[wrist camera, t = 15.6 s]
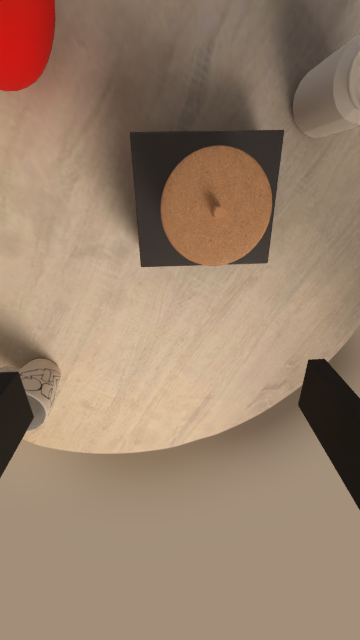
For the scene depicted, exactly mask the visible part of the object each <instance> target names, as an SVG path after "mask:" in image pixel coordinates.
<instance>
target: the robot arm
mask: <svg viewBox="0 0 360 640" xmlns="http://www.w3.org/2000/svg"><path fill="white" fill-rule="evenodd" d="M298 405H299V407H300V409H301V411H302V412H303V414H304V416H305V418H306V419H307V421H308V423H309V424H310V426H311V428H312V429H313V431H314V433H315V435H316V436H317V438H318V440H319V441H320V443H321V445H322V447H323V448H324V450H325V452H326V453H327V455H328V457H329V458H330V460H331V462H332V464H333V465H334V467H335V469H336V470H337V472H338V474H339V475H340V477H341V479H342V481H343V482H344V484H345V486H346V487H347V489H348V491H349V493H350V494H351V496H352V498H353V499H354V501H355V503H356V504H357V506H358V508H359V509H360V398H359V397H358V396H357V395H356V394H355V393H354V391H353V390H352V389H351V388H350V387H349V386H348V385H347V384H346V382H345V381H344V380H343V379H342V378H341V377H340V376H339V375H338V373H337V372H336V371H335V370H334V369H333V368H332V367H331V366H330V364H329V363H328V362H327V361H326V360H325V359H314V360H308V364H307V368H306V373H305V377H304V381H303V386H302V390H301V394H300V399H299V404H298ZM33 418H34V415H33V412H32V409H31V406H30V404H29V401H28V398H27V395H26V392H25V389H24V386H23V383H22V380H21V377H20V374H19V372H1V373H0V477H1V475H2V474H3V472H4V470H5V468H6V467H7V465H8V463H9V461H10V460H11V458H12V456H13V454H14V452H15V451H16V449H17V447H18V445H19V443H20V442H21V440H22V438H23V436H24V434H25V433H26V431H27V429H28V427H29V426H30V424H31V422H32V420H33Z"/></svg>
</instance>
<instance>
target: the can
mask: <svg viewBox="0 0 360 640" xmlns="http://www.w3.org/2000/svg"><path fill="white" fill-rule="evenodd" d="M293 117H294V120H295V123H296V126H297V127H298V128H299V130H300V131H301V132H302V133H303V134H305V135H307V136H308V137H312V138H321V137H324V136H328V135H332V134H335V133H339V132H342V131H346V130H349V129H353V128H356V127H360V33H359V34H357V35H356V36H355V37H353V38H352V39H351V40H349V41H348V42H347V43H346V44H344V45H343V46H342V47H340V48H339V49H338V50H336V51H335V52H334V53H333V54H331V55H330V56H329V57H327V58H326V59H325V60H323V61H322V62H321V63H320V64H318V65H317V66H316V67H314V68H313V69H312V70H310V71H309V72H308V73H307V74H306V75H305V77H304V78H303V79H302V80H301V82H300V84H299V86H298V88H297V90H296V92H295V96H294V101H293Z"/></svg>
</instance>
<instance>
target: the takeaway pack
mask: <svg viewBox="0 0 360 640" xmlns="http://www.w3.org/2000/svg"><path fill="white" fill-rule="evenodd" d="M283 135H284V130H253V131H183V132H130V139H131V151H132V163H133V175H134V188H135V200H136V212H137V224H138V236H139V248H140V260H141V267H158V266H191V265H202V264H198V263H195V262H193V261H190V260H188V259H187V258H185V257H184V256H182V255H181V254H180V253H179V252H178V251H177V250H176V249H175V248H174V247H173V246H172V244H171V243H170V241H169V240H168V238H167V236H166V234H165V231H164V228H163V225H162V220H161V198H162V194H163V190H164V187H165V184H166V182H167V180H168V178H169V176H170V174H171V173H172V171H173V170H174V169H175V168H176V166H177V165H178V164H179V163H180V162H181V161H182V160H183V159H184V158H186V157H187V156H189V155H190V154H192V153H193V152H195V151H197V150H200V149H202V148H206V147H210V146H220V145H223V146H230V147H234V148H237V149H240V150H242V151H244V152H245V153H247V154H249V155H250V156H251V157H252V158H254V159H255V160H256V161H257V162H258V164H259V165H260V166H261V167H262V169H263V171H264V172H265V174H266V176H267V178H268V181H269V184H270V188H271V193H272V210H271V216H270V220H269V223H268V226H267V228H266V231H265V233H264V234H263V236H262V238H261V239H260V241H259V242H258V243H257V245H256V246H255V247H254V248H253V249H252V250H251V251H250V252H249V253H247V254H246V255H245V256H243V257H242V258H240V259H238V260H236V261H234V262H231V263H228V264H259V263H268V255H269V247H270V239H271V231H272V223H273V215H274V207H275V199H276V191H277V183H278V175H279V167H280V159H281V151H282V143H283ZM224 265H225V264H224Z"/></svg>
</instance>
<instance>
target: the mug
mask: <svg viewBox="0 0 360 640" xmlns="http://www.w3.org/2000/svg"><path fill="white" fill-rule="evenodd" d="M1 372H19V374H20V377H21V380H22V383H23V386H24V389H25V392H26V395H27V398H28V401H29V404H30V406H31V409H32V412H33V415H34V418H33V420H32V422H31V424H30V426H29V427H28V429H27V431H29V430H33V429H36V428H38V427H40V426H41V425H42V424H43V423H44V422H45V421H46V419H47V417H48V415H49V412H50V410H51V407H52V405H53V402H54V400H55V397H56V394H57V390H58V386H59V382H60V377H61V372H60V369H59V368H58V366H57V365H56V364H55V363H53V362H52V361H50V360H47V359H42V358H39V359H34V360H32V361H30V362H29V363H27V364H26V365H25V366H24V367H22V368H21V369H20V370H18V369H16V368H13V367H2V368H0V373H1Z"/></svg>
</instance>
